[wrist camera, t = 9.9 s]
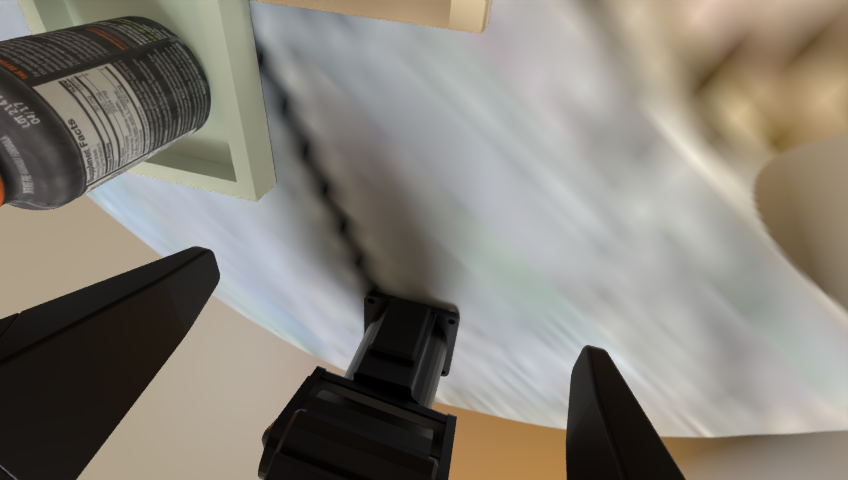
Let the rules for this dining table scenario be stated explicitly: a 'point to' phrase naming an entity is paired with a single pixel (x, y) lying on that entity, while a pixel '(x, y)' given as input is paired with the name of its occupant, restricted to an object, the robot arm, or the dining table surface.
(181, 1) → the tray
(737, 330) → the dining table surface
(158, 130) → the pill bottle
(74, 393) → the robot arm
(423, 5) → the socket collar
